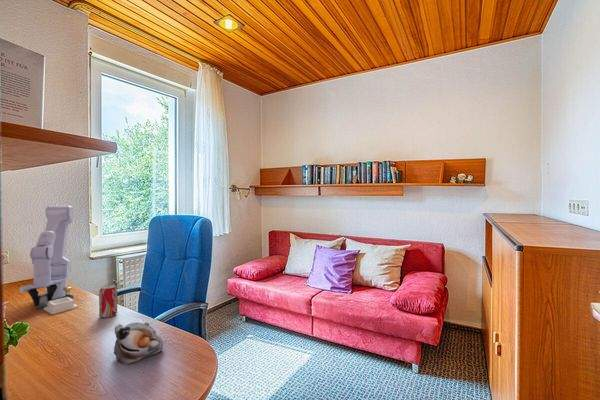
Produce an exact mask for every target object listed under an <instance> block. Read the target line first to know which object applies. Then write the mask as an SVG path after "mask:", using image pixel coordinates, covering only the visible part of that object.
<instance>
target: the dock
mask: <svg viewBox="0 0 600 400" xmlns="http://www.w3.org/2000/svg"><path fill="white" fill-rule="evenodd" d="M78 308H79V306H78V305H77V304H76V303H75V300H74V295H73V294H71V293H70V296H69V297H65V296H62V297H61V298H57V299H52V301H48V307H45V308H44V309H43V310H44V311H46V312H47V313H48V314H50V315H55V314H59V313H62V312H66V311H70V310H74V309H78Z"/></svg>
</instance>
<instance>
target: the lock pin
mask: <svg viewBox="0 0 600 400" xmlns="http://www.w3.org/2000/svg"><path fill="white" fill-rule="evenodd" d="M72 289H73V286H71V285H67V287H64V288H63V290H65V297H69V296H70V294H71V290H72Z"/></svg>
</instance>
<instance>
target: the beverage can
mask: <svg viewBox="0 0 600 400" xmlns="http://www.w3.org/2000/svg"><path fill="white" fill-rule="evenodd" d="M98 305H99V307H98V310H99V311H98V314H99V317H101V318H103V319H105V318H108V319H109V318H111V317H114V316H115V315H116V314H118V289H117V287H116V285H115V284H107V285H106V284H105V285H103V286H101V287H100V289H99V291H98Z"/></svg>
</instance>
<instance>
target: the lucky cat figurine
mask: <svg viewBox="0 0 600 400" xmlns="http://www.w3.org/2000/svg"><path fill="white" fill-rule="evenodd" d="M114 333H115V337H116V340H115V342H114V343H115V344H114V347H113V354H114V355H115V358H116V362H118V363H122V364H125V365H130V364H132V363H133V362H138V361H140V360H141V359H143V358H145V357H146V358H147V357H149V356H152V355H156V354H158V353H161V352H162V351H163V347H164V346H163V345H164V340H163V339H162V338H161V337H160V336H159V335H158V334H157V331H156V330H155V329H154V327H152V326H150V323H148V322H145V323H142V322H137V321H136V322H130V323H128V324H126V325H125V326H123V325H122V324H116V326H114ZM161 350H162V351H161ZM160 351H161V352H160Z"/></svg>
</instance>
